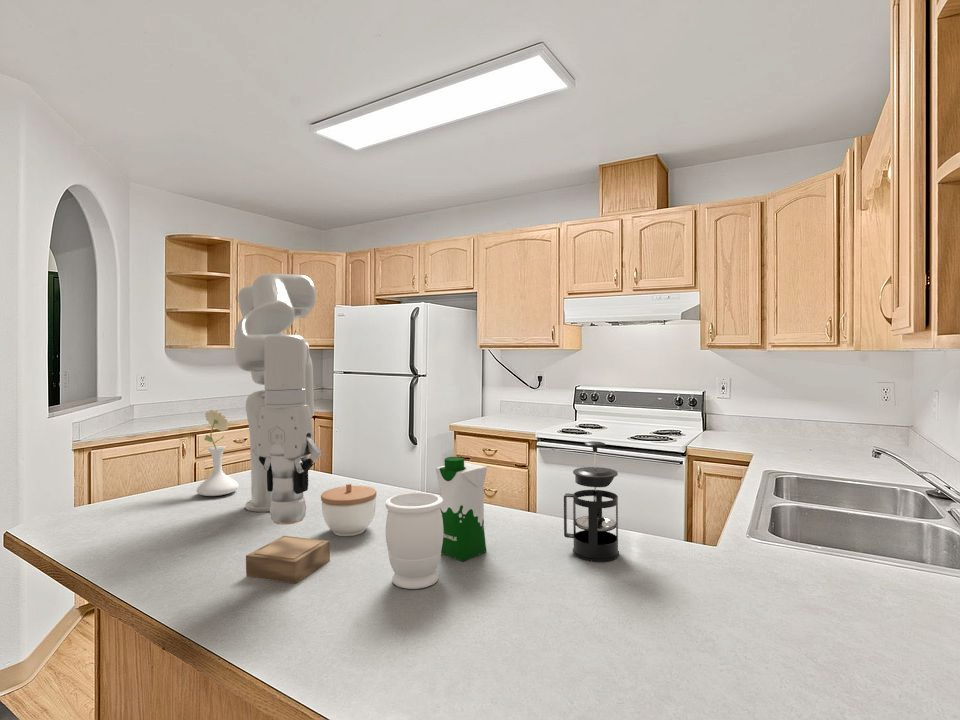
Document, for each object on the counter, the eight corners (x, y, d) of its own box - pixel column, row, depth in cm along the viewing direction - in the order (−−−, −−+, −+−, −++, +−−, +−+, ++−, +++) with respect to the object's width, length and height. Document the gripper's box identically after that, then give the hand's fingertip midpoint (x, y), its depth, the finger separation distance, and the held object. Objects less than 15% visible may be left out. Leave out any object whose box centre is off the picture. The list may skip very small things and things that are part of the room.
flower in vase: (245, 493, 160) (243, 409, 159) (205, 501, 152) (202, 413, 151) (228, 485, 169) (225, 406, 168) (188, 493, 161) (186, 410, 160)
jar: (452, 572, 102) (451, 494, 102) (430, 596, 93) (428, 510, 92) (402, 565, 106) (401, 489, 105) (375, 588, 96) (374, 504, 96)
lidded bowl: (310, 536, 123) (309, 488, 122) (343, 519, 134) (342, 475, 134) (356, 543, 118) (355, 493, 118) (387, 525, 130) (386, 480, 129)
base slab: (284, 554, 112) (283, 534, 112) (329, 560, 109) (329, 540, 109) (246, 576, 102) (245, 554, 101) (295, 583, 98) (295, 561, 98)
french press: (624, 547, 114) (623, 439, 113) (620, 565, 105) (620, 447, 104) (568, 541, 117) (567, 436, 117) (560, 558, 108) (559, 444, 108)
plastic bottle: (299, 528, 102) (297, 423, 101) (264, 528, 102) (262, 423, 101) (311, 517, 108) (309, 418, 107) (277, 517, 108) (275, 418, 108)
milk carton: (432, 553, 112) (431, 457, 111) (463, 541, 119) (462, 451, 118) (462, 564, 106) (461, 463, 105) (493, 551, 113) (492, 456, 112)
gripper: (235, 399, 103) (237, 493, 104) (311, 401, 98) (314, 499, 99) (262, 395, 110) (264, 483, 111) (335, 397, 105) (336, 489, 106)
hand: (287, 490), depth 105 cm, fingers closed on plastic bottle, 5 cm apart
